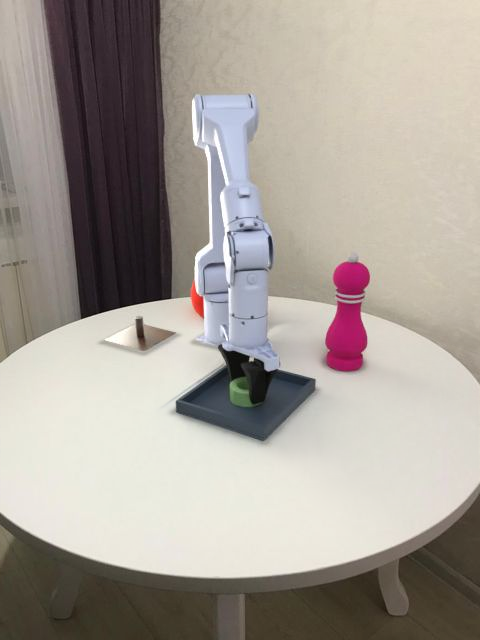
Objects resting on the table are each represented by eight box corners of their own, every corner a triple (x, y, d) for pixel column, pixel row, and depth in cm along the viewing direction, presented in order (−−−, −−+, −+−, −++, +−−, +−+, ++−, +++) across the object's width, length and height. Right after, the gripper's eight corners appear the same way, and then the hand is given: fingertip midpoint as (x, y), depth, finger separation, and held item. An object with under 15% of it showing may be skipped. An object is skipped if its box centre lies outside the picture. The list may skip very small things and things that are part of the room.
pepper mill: (363, 355, 107) (373, 247, 98) (367, 373, 100) (378, 259, 92) (322, 354, 107) (329, 246, 99) (324, 372, 101) (332, 258, 92)
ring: (241, 386, 95) (241, 373, 94) (270, 395, 93) (271, 381, 92) (223, 401, 91) (223, 387, 90) (253, 410, 89) (253, 396, 88)
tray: (235, 368, 103) (235, 357, 102) (315, 389, 95) (315, 378, 94) (176, 412, 89) (175, 400, 88) (263, 441, 82) (264, 429, 81)
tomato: (181, 315, 126) (179, 276, 122) (219, 302, 132) (219, 265, 129) (213, 329, 118) (212, 288, 115) (252, 315, 125) (252, 276, 121)
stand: (137, 325, 121) (135, 304, 119) (176, 335, 116) (175, 314, 114) (103, 342, 113) (101, 321, 111) (144, 354, 108) (142, 331, 106)
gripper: (202, 301, 90) (204, 380, 96) (249, 334, 78) (248, 421, 84) (242, 294, 93) (242, 370, 99) (293, 324, 81) (290, 409, 87)
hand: (248, 393), depth 92 cm, fingers closed on ring, 5 cm apart
